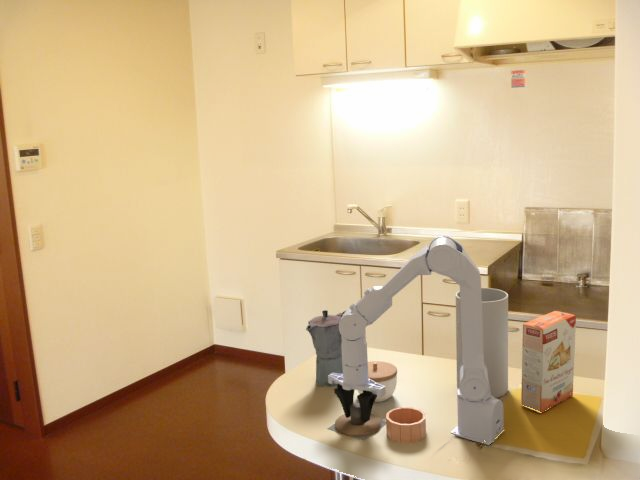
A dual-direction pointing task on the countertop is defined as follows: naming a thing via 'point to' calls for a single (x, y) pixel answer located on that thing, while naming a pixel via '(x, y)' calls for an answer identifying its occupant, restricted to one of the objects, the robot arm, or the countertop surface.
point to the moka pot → (326, 346)
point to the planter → (406, 424)
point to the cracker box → (548, 360)
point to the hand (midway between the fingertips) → (357, 418)
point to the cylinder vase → (490, 338)
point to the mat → (357, 436)
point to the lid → (357, 423)
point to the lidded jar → (383, 377)
